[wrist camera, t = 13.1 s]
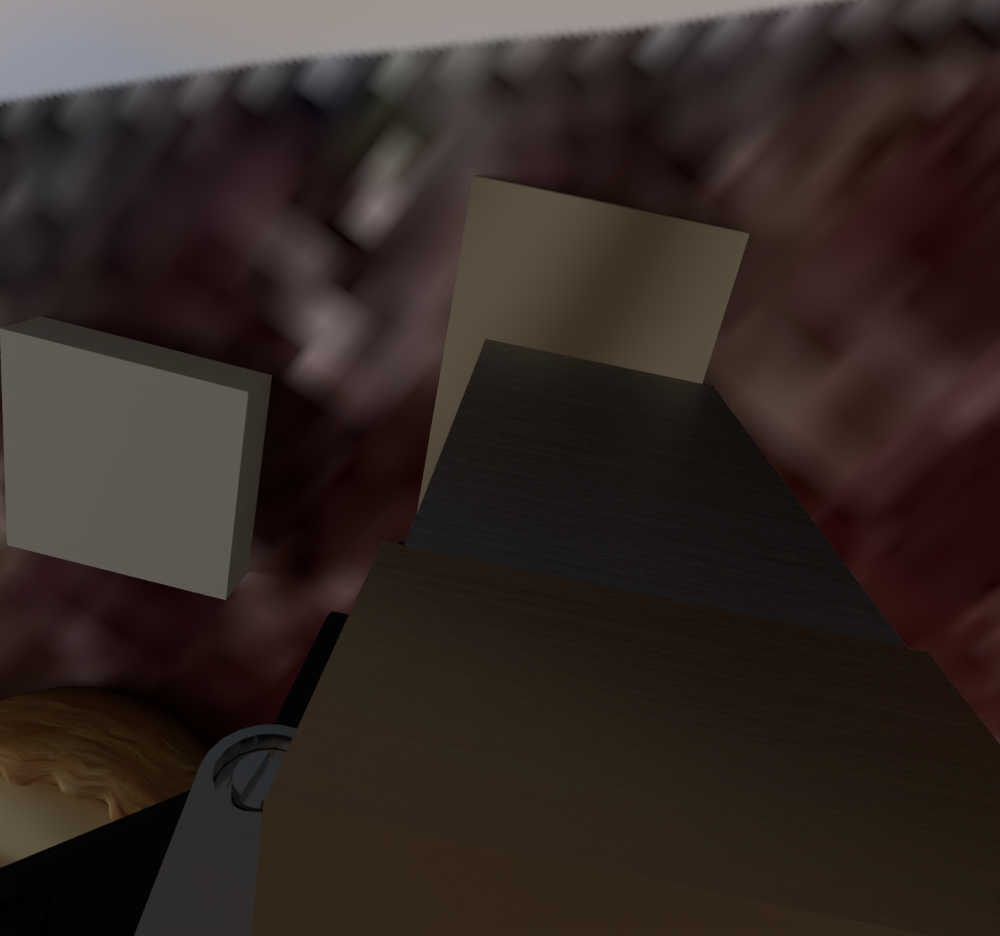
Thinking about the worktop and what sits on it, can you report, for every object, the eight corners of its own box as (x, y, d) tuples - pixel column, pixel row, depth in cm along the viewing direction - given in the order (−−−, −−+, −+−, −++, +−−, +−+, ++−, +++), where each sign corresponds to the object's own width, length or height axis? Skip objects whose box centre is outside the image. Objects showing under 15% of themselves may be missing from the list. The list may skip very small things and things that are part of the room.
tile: (248, 392, 20) (0, 328, 20) (225, 599, 23) (7, 544, 23) (276, 372, 22) (50, 314, 22) (251, 566, 25) (51, 515, 25)
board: (738, 230, 19) (749, 234, 18) (614, 632, 24) (617, 655, 23) (478, 175, 19) (473, 175, 18) (408, 589, 24) (400, 609, 23)
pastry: (293, 875, 31) (204, 1139, 23) (32, 885, 32) (-142, 1140, 24) (212, 645, 26) (63, 875, 18) (-91, 667, 27) (-362, 892, 19)
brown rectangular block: (723, 387, 11) (1188, 985, 3) (583, 816, 14) (620, 1627, 6) (476, 336, 11) (263, 802, 3) (395, 778, 14) (195, 1549, 6)
